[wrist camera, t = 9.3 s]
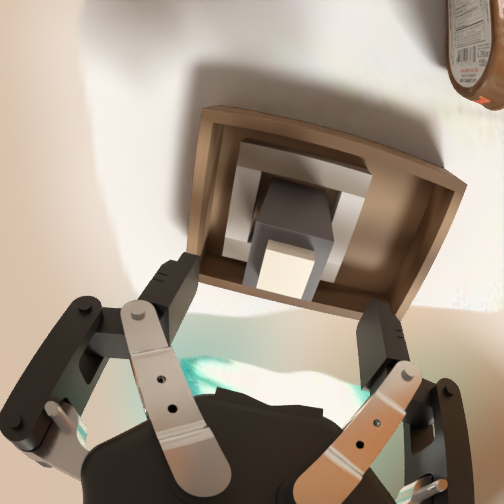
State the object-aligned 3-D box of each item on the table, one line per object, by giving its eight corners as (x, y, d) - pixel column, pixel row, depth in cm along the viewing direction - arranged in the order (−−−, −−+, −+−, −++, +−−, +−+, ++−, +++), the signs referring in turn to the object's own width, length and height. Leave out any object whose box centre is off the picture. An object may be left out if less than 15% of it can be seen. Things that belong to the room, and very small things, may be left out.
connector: (272, 176, 22) (253, 230, 14) (325, 190, 21) (335, 251, 14) (262, 224, 24) (238, 295, 16) (311, 237, 24) (310, 313, 16)
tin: (467, 106, 16) (533, 122, 9) (434, 94, 17) (495, 102, 10) (465, -44, 9) (513, -74, 2) (433, -59, 9) (473, -97, 2)
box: (219, 105, 20) (202, 108, 17) (444, 168, 19) (467, 184, 16) (199, 252, 27) (184, 278, 24) (388, 298, 26) (396, 327, 23)
